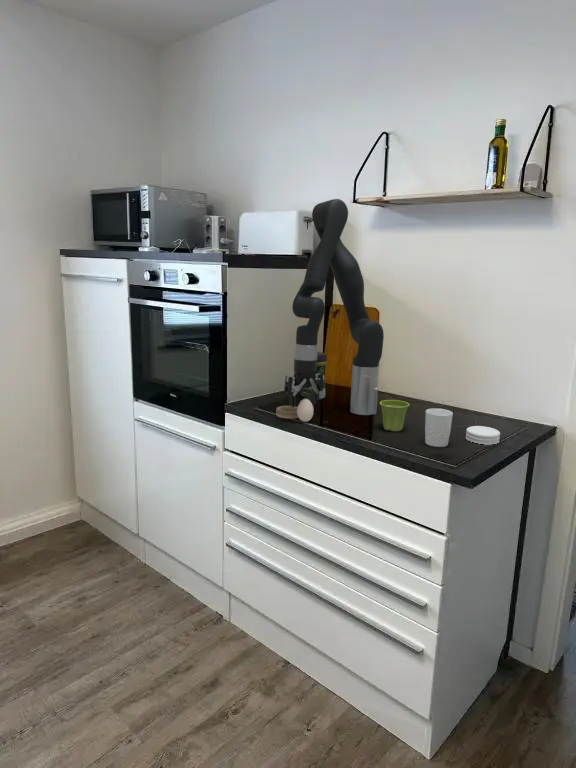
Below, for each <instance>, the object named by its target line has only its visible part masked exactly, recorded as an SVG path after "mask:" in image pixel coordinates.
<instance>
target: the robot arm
mask: <svg viewBox="0 0 576 768" xmlns="http://www.w3.org/2000/svg"><path fill="white" fill-rule="evenodd" d="M348 217H349V209H348V206H347V204H346V202H344V201H343V200H342V199H340V198H333V199H330V200H326V201H323V202H319V203H318V204H316V205H315V206H314V207H313V209H312V211H311V218H312V222H313V223H312V224H313V226H314V228H315V231H316V233H317V235H318V238H319V240H320V241H319V242H318V244H317V247H316V248H315V250H314V251H313V253H312V255H311V256H310V259H309V261H308V263H307V265H306V266H307V267H306V270H305V275H304V278H303V282H302V284H301V285H300V287H299V290H298V291H297V293H296V295H295V297H294V299H293V302H292V313H293V315H294V316H295V317H297V318H300V319H301V318H302V319H308V320H307V321H308V322H307V324H303V325H299V326H297V328H296V335H295V337H296V338H295V347H294V357H293V358H294V359H293V373H294V374H293V375H292V376H291V375H286V376H285V379H284V380H285V381H284V390H283V393H284V394H285V395H288V396H289V398H288V406H291V407H295V406H296V401H297V397H296V395H297V394H298V392H301V388H310V389H311V391H312V393H311V399H310V402H311V403H312V405H317V402H318V400H317V396H318V392H320V391H323V374H320V373H316V374H315V372H316V368H317V352H318V338H319V337H318V336H319V335H318V334H319V331H320V327H321V322H322V320H323V317H324V315H325V310H326V305H325V302H324V299H322V298H320V297H319V296H318V297H317V296H312V295H314V294H315V293H319V292H321V291H323V290H324V289H325V286H326V282H327V278H328V274H329V270H331V271H332V274H333V275H332V276H333V279H334V281H335V284H336V288H337V290H338V292H339V296H340V299H341V301H342V304H343V306H344V309H345V313H346V318H347V321H348V327H349V331H350V335H351V338H352V340H353V341H354V342H355V343H357V344H358V347H357V353H356V354H355V355H354V356H353V358H352V370H351V371H352V372H351V392H350V404H349V405H350V407H349V408H350V410H349V412H350V413H352V414H355V415H359V416H360V415H361V416H370V415H371V416H372V415H377V410H378V409H377V408H378V395H379V393H378V392H379V388H378V386H379V382H378V381H379V368H380V361H381V358H382V355H383V348H384V347H383V346H384V334H385V333H384V328H383V327H382V324H380V323H379V322H378V321H374V320H371V319H370V316H369V313H368V311H367V308H366V305H365V282H364V278H363V277H364V276H363V273H362V271H361V268H360V264H359V262H358V261H357V259H356V258H355V257H354V255H353V254H352V253H351V252H350V250H349V249H348V248H347V247H346V246H345V244H344V243H343V242H342V239H341V236H342V234H343V232H344V229H345V226H346V224H347V222H348ZM330 268H331V269H330ZM315 379H316V385H315V383H314V380H315Z"/></svg>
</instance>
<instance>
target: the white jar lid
mask: <svg viewBox="0 0 576 768" xmlns="http://www.w3.org/2000/svg"><path fill="white" fill-rule="evenodd" d="M500 436H501V432H500V430H498V429H496V428H493V427H489V426H484V425H483V426H482V425H474V426H473V425H472V426H469V427H467V428H466V431H465V439H466V440H467V442H469V441H470V442H469V443H472V442H474V443H473V444H475V443H478V444H477V445H480V444H484V445H483V446H493V445H492V444H496V445H497V443H498V444H499V443H500V438H501V437H500Z"/></svg>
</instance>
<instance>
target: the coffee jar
mask: <svg viewBox="0 0 576 768" xmlns="http://www.w3.org/2000/svg"><path fill="white" fill-rule="evenodd" d="M327 358H328V357H327V354H326V353H324V352H321V351H317V368H316V372H315V374H316V373H320V374H323V391H320V392H318V396H317V401H320V400H323V399H325V398H326V367H327V364H328V361H327V360H328V359H327ZM314 383H315V385H316V379H315V380H314ZM311 393H312V391H311V389H310V388H301V389H300V395H301V397H303V398H304V399H308V400H311Z"/></svg>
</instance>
